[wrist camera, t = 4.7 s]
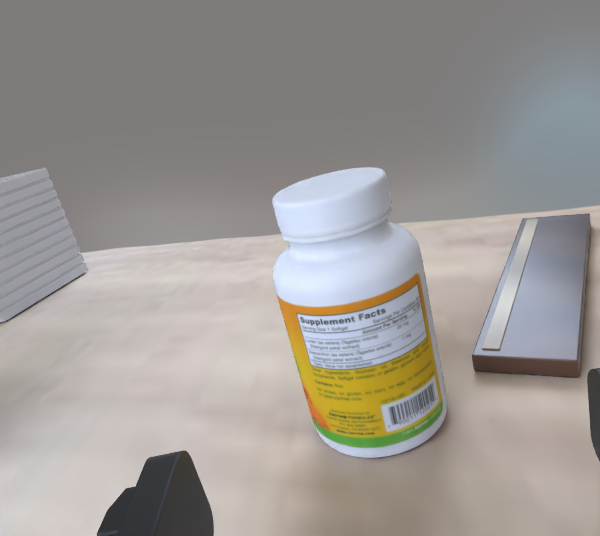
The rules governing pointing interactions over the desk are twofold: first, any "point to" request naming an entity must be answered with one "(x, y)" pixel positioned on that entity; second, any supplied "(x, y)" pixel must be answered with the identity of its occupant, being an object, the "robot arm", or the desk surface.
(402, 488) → the desk surface
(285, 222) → the supplement bottle
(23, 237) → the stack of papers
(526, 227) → the dark brown flat bar
